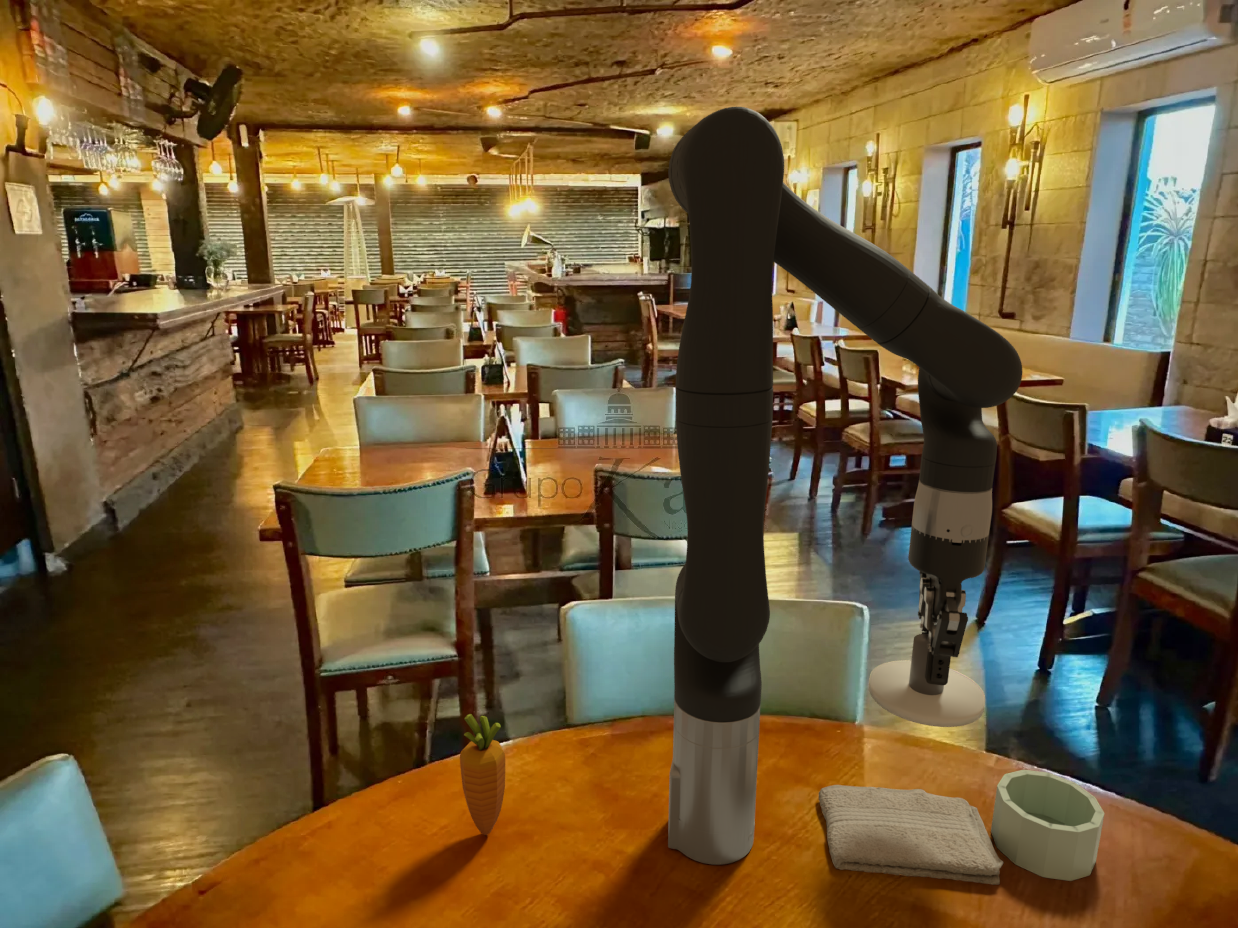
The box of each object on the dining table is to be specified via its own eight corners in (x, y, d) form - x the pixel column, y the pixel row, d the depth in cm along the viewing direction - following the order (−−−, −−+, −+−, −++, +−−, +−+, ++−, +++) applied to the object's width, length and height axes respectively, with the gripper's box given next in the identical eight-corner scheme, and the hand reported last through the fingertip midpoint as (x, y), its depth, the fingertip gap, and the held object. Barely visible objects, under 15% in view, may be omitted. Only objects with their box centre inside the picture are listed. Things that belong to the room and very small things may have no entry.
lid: (873, 718, 84) (879, 661, 82) (864, 664, 95) (869, 612, 93) (995, 733, 81) (1003, 674, 79) (971, 675, 92) (978, 623, 91)
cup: (1005, 871, 84) (1012, 823, 83) (983, 809, 94) (989, 765, 92) (1108, 886, 82) (1118, 837, 81) (1075, 821, 92) (1083, 776, 90)
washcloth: (1007, 890, 82) (1011, 865, 81) (830, 876, 84) (832, 851, 83) (971, 813, 94) (974, 791, 93) (816, 802, 96) (818, 780, 95)
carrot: (517, 833, 89) (513, 715, 86) (481, 856, 86) (476, 734, 82) (489, 813, 93) (484, 698, 89) (454, 834, 89) (447, 716, 86)
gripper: (903, 503, 90) (889, 640, 95) (923, 545, 77) (905, 703, 81) (973, 507, 89) (955, 647, 93) (1006, 551, 75) (984, 712, 80)
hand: (932, 672), depth 87 cm, fingers closed on lid, 3 cm apart
